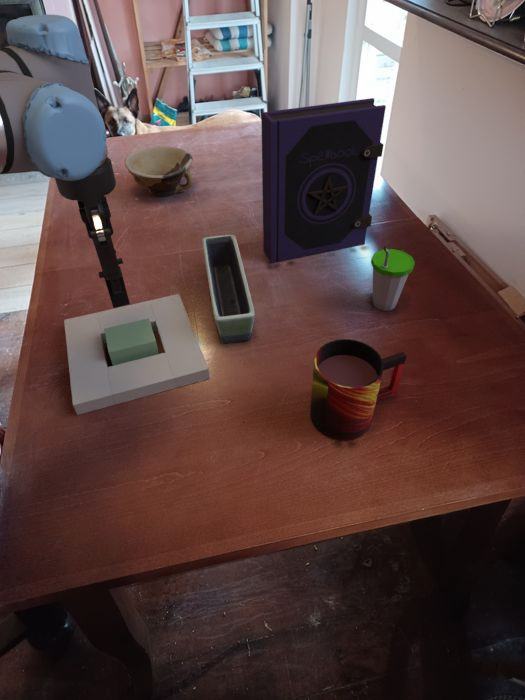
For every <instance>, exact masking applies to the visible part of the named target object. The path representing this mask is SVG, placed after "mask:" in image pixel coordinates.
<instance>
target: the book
mask: <svg viewBox="0 0 525 700" xmlns="http://www.w3.org/2000/svg"><path fill="white" fill-rule="evenodd" d="M386 108H387V106H386V105H385V104H382V105H375V98H374V97H372V98H363V99H355V100H347V101H339V102H332V103H324V104H317V105H309V106H301V107H295V108H294V107H293V108H285V109H277V110H271V111H262V112H261V115H260V117H261V176H262V177H261V178H262V179H261V180H262V181H261V183H262V235H263V236H262V238H263V239H262V245H263V246H262V247H263V248H262V249H263V253H264V254H265V256H266V258H267V259H268V261H269V262H270V263H271V264H273V263H276V262H277V263H278V262H283V261H288V260H294V259H298V258H302V257H307V256H313V255H317V254H322V253H328V252H332V251H336V250H337V251H338V250H343V249H348V248H352V247H357V246H362V245H365V243H366V237H367V231H368V227H371V225H372V219H373V216H372V215H371V213H370V212H371V206H372V205H371V204H372V197H373V191H374V185H375V179H376V172H377V166H378V159H379V157H380V158H381V157H382V156H383V150H384V144H383V143H382V142H381V141H382V140H381V139H382V132H383V126H384V121H385V114H386Z"/></svg>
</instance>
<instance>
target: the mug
mask: <svg viewBox="0 0 525 700" xmlns="http://www.w3.org/2000/svg"><path fill="white" fill-rule="evenodd" d="M406 359H407V354H406V353H405V352H404V351H400V352H398V353H397V352H396V353H395V354H392V355H389V356H386V357H383V358H382V357H381V354H380V353H379V352H378V351H377V350H376V349H375V348H374V347H372V346H371V345H369V344H367V343H365V342H363V341H359V340H356V339H350V338H341V339H340V338H339V339H335V340H332V341H329V342H326V343H324V344H323V345H322V346H321V347H319V349H318V350H317V351H316V353H315V355H314V359H313V360H314V362H313V373H312V383H311V396H310V408H309V418H310V421H311V424H312V426H313V427H314V428H315V430H317V432H318V433H320V434H321V435H323V436H324V437H326V438H327V439H330V440H334V441H339V442H347V441H349V442H350V441H353V440H357V439H358V438H361V437H362V436H364V435H365V434H366V433H367V432H368V430H369V429H370V428H371V424H372V422H373V416H374V412H375V407H376V404H377V402H379V401H381V400H385V399H387V398H390V397H393V396H396V395H397V394H398V391H399V387H400V383H401V380H402V378H401V377H402V375H403V371H404V366H405V364H406V361H407V360H406ZM392 368H393V371H392V373H391V377H390V381H389V384H388V385H387V386H384V387H382V388H380V385H381V382H382V378H383V375H384V371H386V370H389V369H392Z"/></svg>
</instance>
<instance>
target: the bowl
mask: <svg viewBox="0 0 525 700" xmlns="http://www.w3.org/2000/svg"><path fill="white" fill-rule="evenodd" d="M192 164H193V156H192V154H191V153H190V152H189V151H188V150H186V149H184V148H181V147H177V146H170V145H156V146H155V145H154V146H151V147H150V146H149V147H144V148H141V149H138V150H136V151H133V152H131V153H130V154H128V155H127V156H126V158H124V166H125V169H127V171H128V173H129V174H131V176H132V177H133V180H134V182H136V184H138V185H139V186H141V187H142V188H144V189H145V190H148V192H149V194H151V195H152V196H154V197H158V198H159V197H160V198H164V197H170V196H172V195H174V194H177V193H181V192H185V191H188V190H189V189H190V188H191V187H192V186H193V181H194V180H193V176H192V174H191V170H190V169H191V167H192ZM183 177H184V178H185V180H186V183H184V184H183V183H181V181H182V179H183Z"/></svg>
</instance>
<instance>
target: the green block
mask: <svg viewBox="0 0 525 700" xmlns="http://www.w3.org/2000/svg"><path fill="white" fill-rule="evenodd" d="M104 331H105V337H106V342H107V343H106V346H107V352H108V355H109V358H110V361H111V365H112V366H114V365H118V364H122V363H126V362H130V361H134V360H138V359H142V358H146V357H150V356H154V355H157V354H160V353H159V349H158V343H157V340H156V337H155V333H154V332H153V330H152V327H151V323H150V320H149V318H147V319H143V320H139V321H135V322H130V323H126V324H122V325H117V326H113V327H109V328H105V329H104Z"/></svg>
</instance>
